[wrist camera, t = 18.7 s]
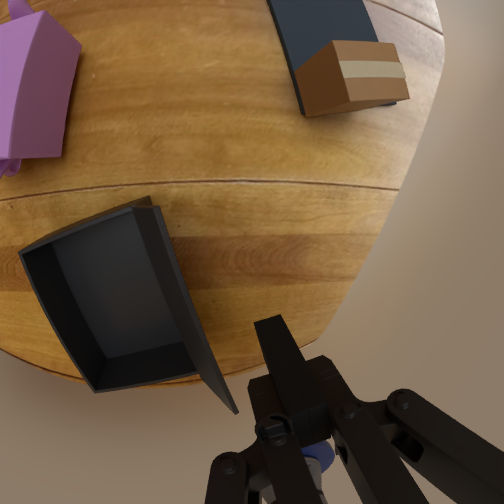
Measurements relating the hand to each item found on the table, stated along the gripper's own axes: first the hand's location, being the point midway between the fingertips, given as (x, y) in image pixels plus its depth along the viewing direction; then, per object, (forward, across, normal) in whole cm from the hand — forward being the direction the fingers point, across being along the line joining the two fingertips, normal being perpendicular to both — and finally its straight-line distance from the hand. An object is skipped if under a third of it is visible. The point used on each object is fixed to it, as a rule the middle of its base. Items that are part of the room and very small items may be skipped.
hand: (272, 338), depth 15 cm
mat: (+16, +16, +22) cm, 31 cm away
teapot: (+16, -16, +24) cm, 33 cm away
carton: (+15, -13, 0) cm, 20 cm away
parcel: (+15, +13, +14) cm, 24 cm away
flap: (+5, -6, 0) cm, 8 cm away
